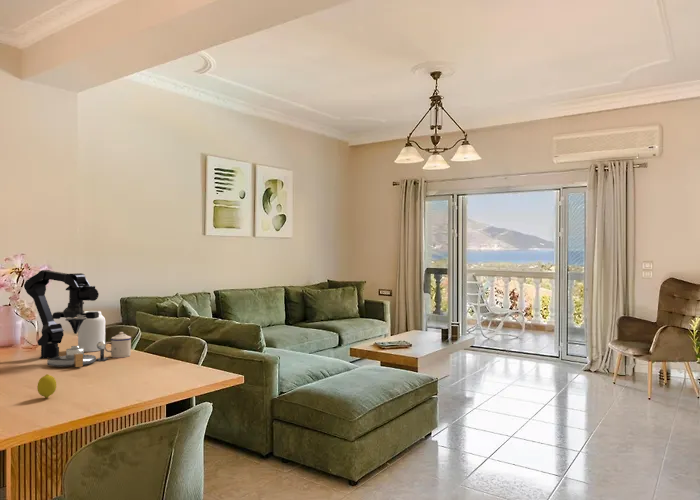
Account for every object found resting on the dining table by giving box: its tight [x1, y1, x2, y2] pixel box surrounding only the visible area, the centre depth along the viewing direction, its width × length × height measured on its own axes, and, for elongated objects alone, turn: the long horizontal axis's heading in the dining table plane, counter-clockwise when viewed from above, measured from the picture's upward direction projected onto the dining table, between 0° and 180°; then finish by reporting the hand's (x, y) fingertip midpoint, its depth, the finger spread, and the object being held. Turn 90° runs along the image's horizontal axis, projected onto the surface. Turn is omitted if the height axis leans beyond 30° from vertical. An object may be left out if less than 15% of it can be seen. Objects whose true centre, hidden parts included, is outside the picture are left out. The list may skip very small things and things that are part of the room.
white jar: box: [77, 310, 106, 353], centre depth 263 cm, size 12×12×20 cm
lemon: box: [36, 373, 57, 399], centre depth 173 cm, size 6×6×8 cm
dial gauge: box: [95, 342, 109, 362], centre depth 237 cm, size 4×4×9 cm
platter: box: [46, 353, 97, 368], centre depth 227 cm, size 19×22×5 cm
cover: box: [65, 345, 85, 359], centre depth 229 cm, size 7×7×5 cm
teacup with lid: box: [104, 331, 132, 359], centre depth 247 cm, size 12×9×12 cm
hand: (75, 333), depth 239 cm, fingers closed
